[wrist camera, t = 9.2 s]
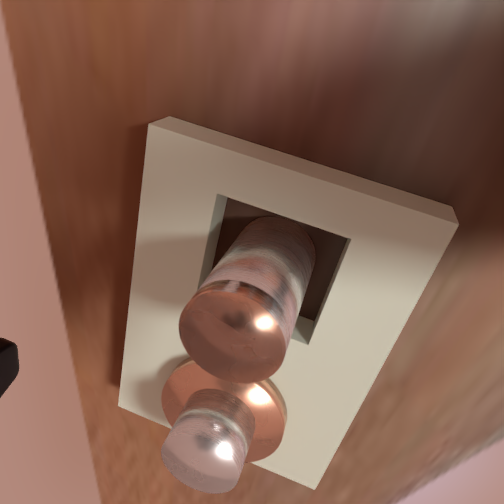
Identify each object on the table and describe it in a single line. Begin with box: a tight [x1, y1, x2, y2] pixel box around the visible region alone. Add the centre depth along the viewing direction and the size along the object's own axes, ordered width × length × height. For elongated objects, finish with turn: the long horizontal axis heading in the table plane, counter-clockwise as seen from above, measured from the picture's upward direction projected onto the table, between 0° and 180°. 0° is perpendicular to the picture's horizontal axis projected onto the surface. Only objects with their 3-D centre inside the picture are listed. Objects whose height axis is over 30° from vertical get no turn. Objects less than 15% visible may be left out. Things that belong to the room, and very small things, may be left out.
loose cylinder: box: [179, 216, 316, 384], centre depth 18 cm, size 4×4×7 cm
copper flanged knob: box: [161, 357, 287, 494], centre depth 22 cm, size 7×7×4 cm
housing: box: [118, 116, 459, 490], centre depth 22 cm, size 13×18×2 cm
